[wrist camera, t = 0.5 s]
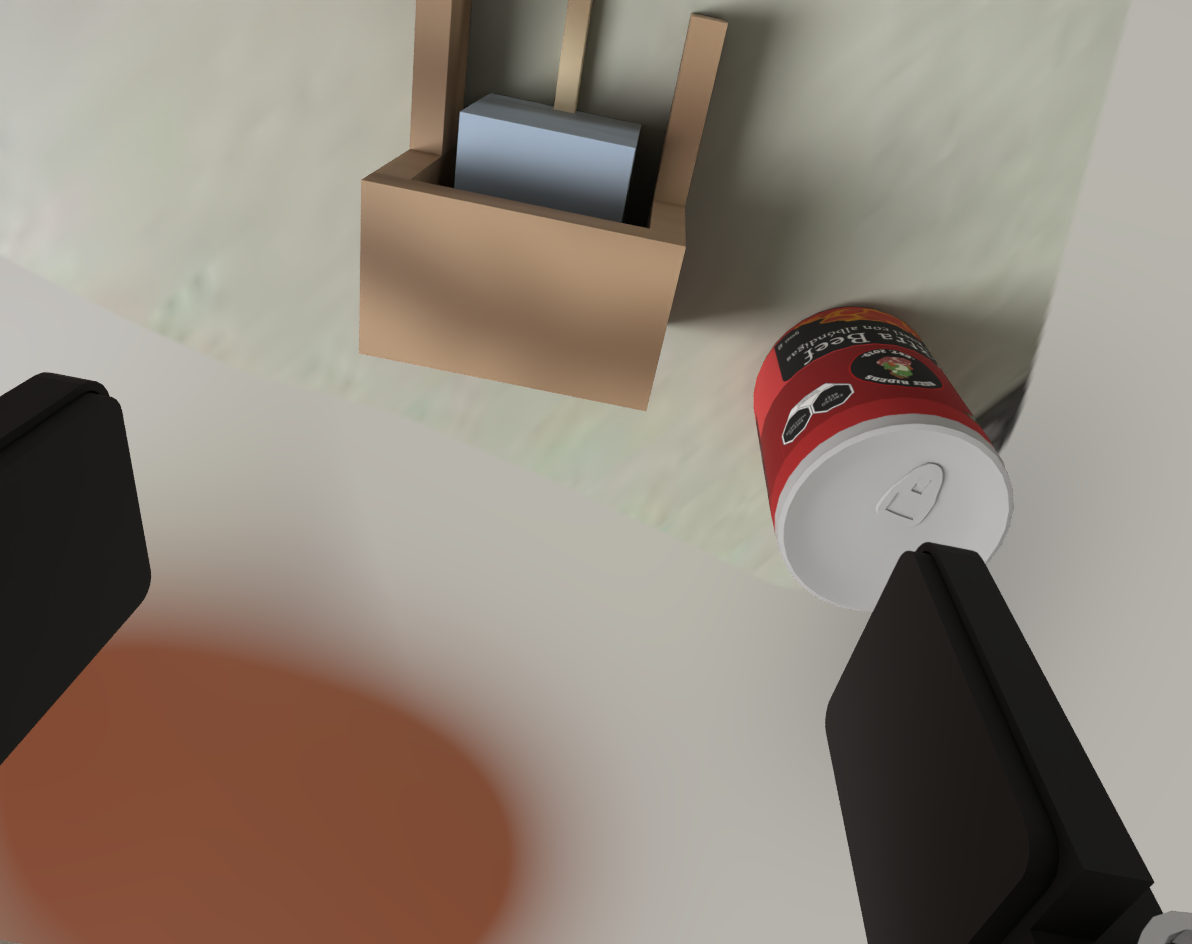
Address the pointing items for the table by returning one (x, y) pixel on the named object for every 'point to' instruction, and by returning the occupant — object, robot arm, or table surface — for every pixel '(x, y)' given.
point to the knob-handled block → (549, 143)
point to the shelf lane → (522, 246)
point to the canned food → (870, 455)
